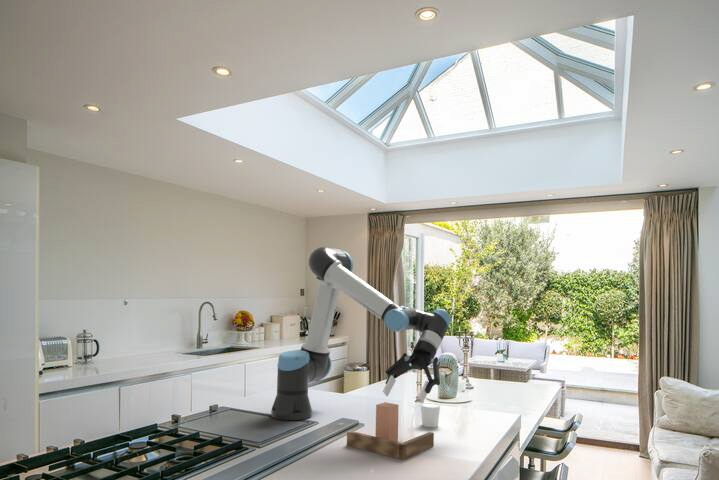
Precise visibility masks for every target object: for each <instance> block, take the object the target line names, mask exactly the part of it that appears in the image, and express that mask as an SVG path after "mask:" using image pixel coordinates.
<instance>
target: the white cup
mask: <svg viewBox="0 0 719 480" xmlns="http://www.w3.org/2000/svg"><path fill="white" fill-rule="evenodd" d="M440 408H441V406H440V404H436V403H421V404H420V411H421V425H422V426H423V427H426V428H437V427H439V421H440V420H439V419H440V410H441V409H440Z"/></svg>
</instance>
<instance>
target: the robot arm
mask: <svg viewBox="0 0 719 480" xmlns="http://www.w3.org/2000/svg"><path fill="white" fill-rule="evenodd" d="M308 267H309V269H310V271H311V272H312V273H313V275H315V276H316V281H317V282H318V288H317V292H316V296H315V301H314V306H313V310H312V314H311V319H310V325H309V327H308V329H309V330H308V333H307V338H306V341H305V342H304V343H303V344H301V347H300V349H299V350H298V349H297V350H296V349H294V350H287V351H285V352H282V353H281V354H279V357H278V361H277V378H276V379H277V383H276V385H277V386H276V395H275V399H274V401H273V404H272V407H271V411H270V417H271V418H273V419H277V420H282V421H302V420H308V419H309V418H312V416H313V408H312V404H311V401H310V398H309V384H310V383H316V382H319V381H321V380H323V379H325V378H326V377H328V375H329V374H330V371H331V369H332V359H331V357H330V353H331V349H330V348H329V347H328V344H329V340H330V336H331V331H332V327H333V326H332V325H333V321H334V317H335V313H336V307H337V304H338V298H339V294H340V291H341V292H343V293H344V294H345V295H347V296H348V297H350V298H351V299H353V300H354V301H355V302H356V303H358V304H359V305H360V306H362V307H363V308H364V309H366V310H367V311H368V312H370V313H371V314H373V315H374V316H376V318H378V320H381V321H382V322H383V323H384V324H385V326H386V328H387V329H388V330H389V331H391V332H397V333H398V332H402V331H410V330H413V331H416V332H419V333H421V334H420V335H419V337H418V339H417V342H416V344H415V346H414V347H413V351H412V354H411V355H408V354H407V353H406V352H405V353H404V352H403V354H402V355H401V357H400V358H399V359H397V361H395V362H394V363H393V364H392V365H391V366H390V367H389V368H387V369H386V370H385V374H386V375H387V378H386V381H385V386H384V387H383V390H382V392H383V394H384V395H385V397H389V395H390V393H391V391H392V389H393V387H394V385H395V383H396V382H397V381H396V378H399V377H400V376H402V375H403V374H405V373H406V372H409V371H412V370H419V371H422V370H423V371H424V373H425V375H426V378H427V380H425V381H424V384H423V385H422V388H421V389H420V393H419V395H418V396H417V399H418V401H419V402H420V403H421V404H424V402H425V399H426V397H427V395H428V394H430V393H431V392H432V388H433V387H434V386H435V385H436V386H440V384H441V378H440V368H439V367H440V364H441V361H440V359H439V358H438V357H437V356H436V354H437V353H438V352H437V351H438V350H439V348H440V346H441V344H442V342H443V339H444V338H445V336H446V334H447V332H448V330H449V327H450V325H451V321H452V316H451V315H450V313H449V312H448V311H446V310H445V309H442V308H435V309H433V311H431V312H426V311H424V310H423V311H422V310H420V309H417V308H413V307H411V306H405V305H398V304H397V303H395V302H393V300H391V299H389V298H388V297H387V296H386V295H384V294H382V293H381V292H380V291H378V290H377V289H375V288H374V287H373V286H371V285H370V284H368V283H367V282H365V281H364V280H363V279H361V278H360V277H358V276H357V275H356V274H354V273H353V272H352V271H353V270H354V269H353V268H354V262H353V259H352V257H351V255H350V254H349V253H348V252H347V251H345V250H343V249H340V248H334V247H329V246H328V247H327V246H320V247H317V248H316V249H314V250H313V251H312V252H311V253H310V255H309V258H308ZM435 356H436V357H435ZM430 365H432V369H433V370H432V371H433V376H432V375H431V371H430V370H429V367H428V366H430Z"/></svg>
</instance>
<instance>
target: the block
mask: <svg viewBox="0 0 719 480" xmlns="http://www.w3.org/2000/svg"><path fill="white" fill-rule="evenodd" d="M374 436H375V437H379V438H383V439H387V440H392V441H396V442H399V404H395V403H390V402H382V403H377V404H376V405H375V435H374Z"/></svg>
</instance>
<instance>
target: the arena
mask: <svg viewBox="0 0 719 480" xmlns="http://www.w3.org/2000/svg"><path fill="white" fill-rule="evenodd" d="M434 434H435V433H434V432H433V431H428V432H425V433H423V434H421V435H417V436H416V437H413V438H411V439H408V440H406V441H403V442H399V441H398V442H396V441H392V440H387V439H383V438H379V437H375V436H376V435H372V434H371V435H370V434H366V433H361V432H357V431H353V430H348V431H346V446H349V447H354V448H357V449H361V450H363V451H368V452H372V453H376V454H380V455H384V456H388V457H391V458H395V459H398V460H399V459H400V460H402V461H403V460H406V459H408V458H411V457H412V456H415V455H417V454H419V453H421V452H423V451H426V450H428V449H430V448H432V447H434V445H435V443H434V442H435V438H434V437H435V435H434Z"/></svg>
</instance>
